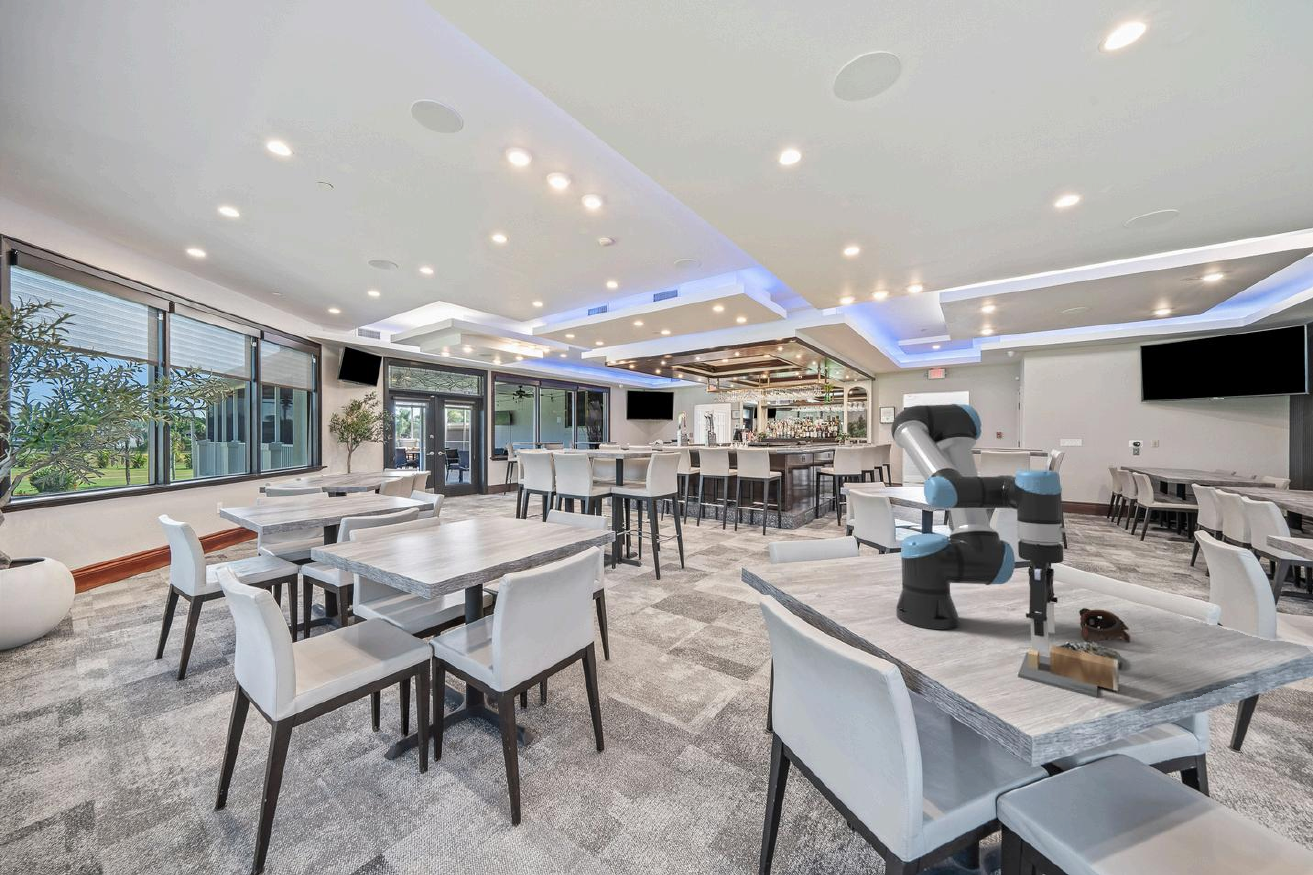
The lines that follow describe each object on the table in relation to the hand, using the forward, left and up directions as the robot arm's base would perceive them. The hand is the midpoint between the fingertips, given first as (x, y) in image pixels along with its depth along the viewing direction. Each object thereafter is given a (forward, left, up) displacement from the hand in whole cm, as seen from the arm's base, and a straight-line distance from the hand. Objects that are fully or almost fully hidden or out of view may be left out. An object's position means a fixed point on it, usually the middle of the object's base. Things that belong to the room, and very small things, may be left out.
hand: (1043, 640), depth 100 cm
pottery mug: (+8, +30, -7) cm, 32 cm away
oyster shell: (+7, +15, -7) cm, 18 cm away
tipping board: (+2, 0, -6) cm, 7 cm away
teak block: (+1, 0, -4) cm, 4 cm away
